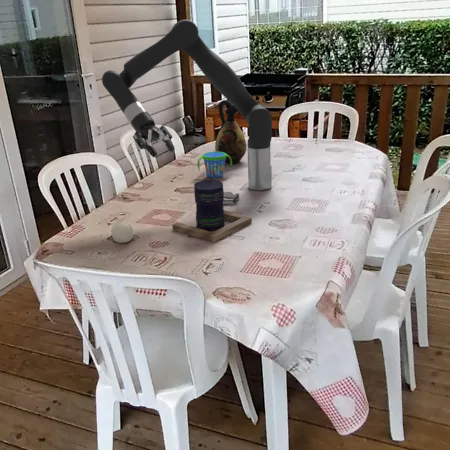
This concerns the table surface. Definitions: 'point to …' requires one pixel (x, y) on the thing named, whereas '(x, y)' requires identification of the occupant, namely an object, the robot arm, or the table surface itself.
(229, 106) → the ceramic jug
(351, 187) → the table surface
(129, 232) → the white egg
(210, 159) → the snack cup
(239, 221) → the walnut bay
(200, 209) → the dark blue ridged cylinder
